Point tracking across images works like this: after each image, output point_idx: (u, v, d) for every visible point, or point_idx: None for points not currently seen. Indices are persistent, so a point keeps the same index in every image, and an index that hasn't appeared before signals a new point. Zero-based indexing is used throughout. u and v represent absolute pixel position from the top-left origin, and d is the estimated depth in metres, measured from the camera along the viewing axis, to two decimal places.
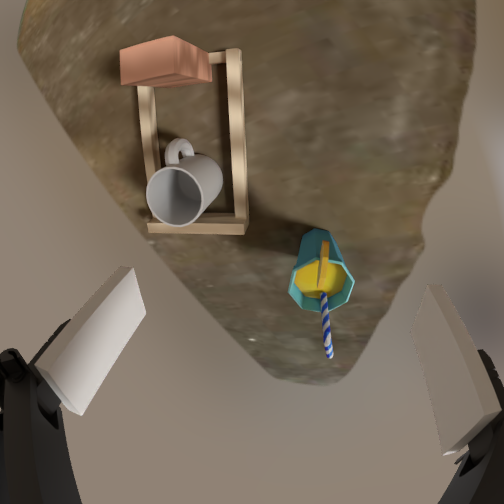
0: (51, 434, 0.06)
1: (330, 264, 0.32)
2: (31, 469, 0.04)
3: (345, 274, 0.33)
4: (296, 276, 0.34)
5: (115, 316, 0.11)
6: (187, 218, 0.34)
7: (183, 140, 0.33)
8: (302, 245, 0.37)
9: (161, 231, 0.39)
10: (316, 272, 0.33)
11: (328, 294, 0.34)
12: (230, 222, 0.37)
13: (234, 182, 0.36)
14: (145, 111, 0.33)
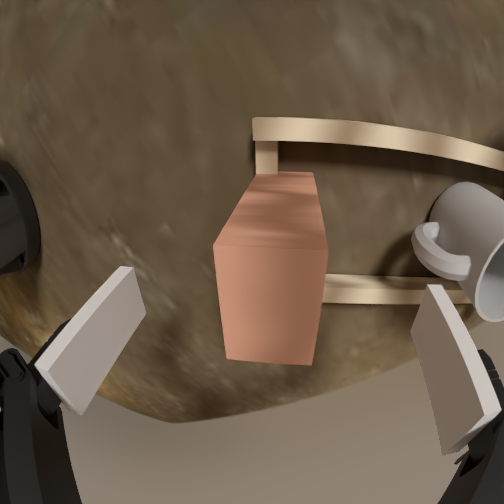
0: (51, 434, 0.06)
1: None
2: (31, 469, 0.04)
3: None
4: None
5: (115, 316, 0.11)
6: None
7: (420, 238, 0.17)
8: None
9: None
10: None
11: None
12: None
13: (486, 164, 0.15)
14: (341, 293, 0.22)
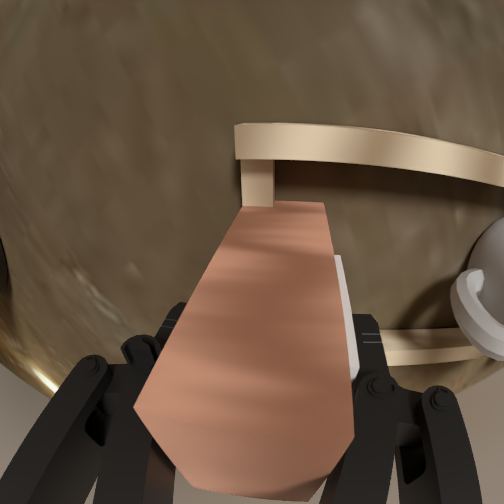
0: None
1: None
2: (137, 483, 0.04)
3: None
4: None
5: None
6: None
7: (465, 299, 0.11)
8: None
9: None
10: None
11: None
12: None
13: None
14: None
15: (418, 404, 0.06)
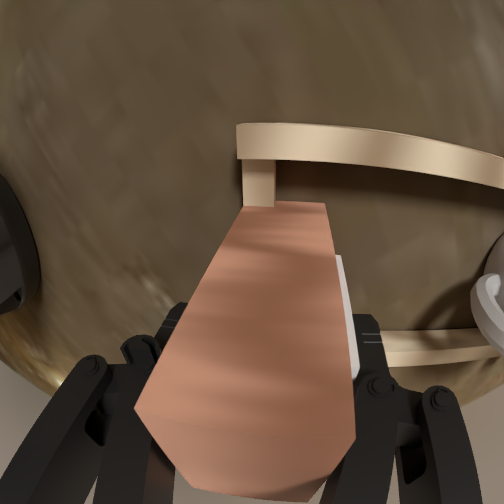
0: None
1: None
2: (136, 483, 0.04)
3: None
4: None
5: None
6: None
7: (485, 304, 0.11)
8: None
9: None
10: None
11: None
12: None
13: None
14: None
15: (418, 404, 0.06)
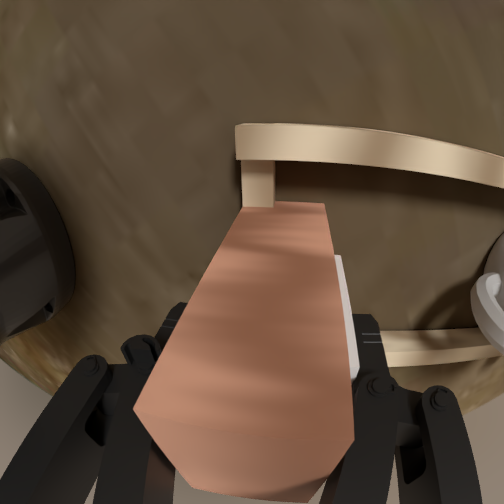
0: None
1: None
2: (137, 483, 0.04)
3: None
4: None
5: None
6: None
7: (486, 303, 0.11)
8: None
9: None
10: None
11: None
12: None
13: None
14: None
15: (418, 404, 0.06)
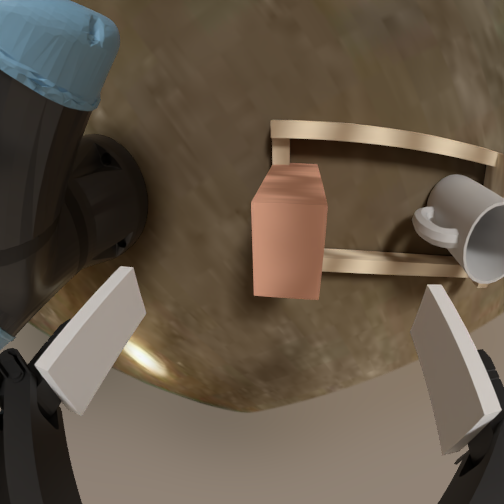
0: (51, 434, 0.06)
1: None
2: (31, 469, 0.04)
3: None
4: None
5: (115, 316, 0.11)
6: None
7: (419, 217, 0.21)
8: None
9: None
10: None
11: None
12: None
13: (460, 156, 0.20)
14: (341, 263, 0.27)
15: None
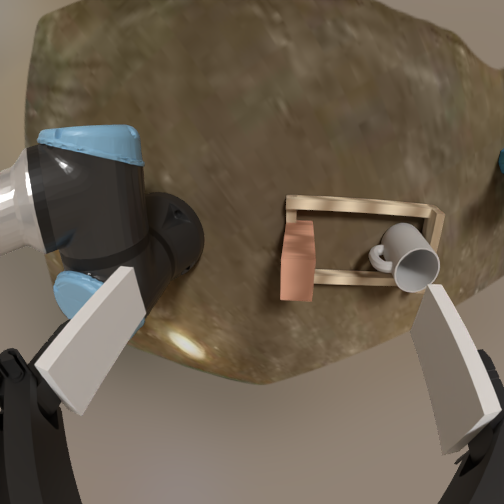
0: (51, 434, 0.06)
1: None
2: (31, 469, 0.04)
3: None
4: None
5: (115, 316, 0.11)
6: (433, 261, 0.35)
7: (371, 253, 0.40)
8: None
9: None
10: None
11: None
12: (433, 224, 0.36)
13: (402, 214, 0.38)
14: (327, 279, 0.45)
15: None
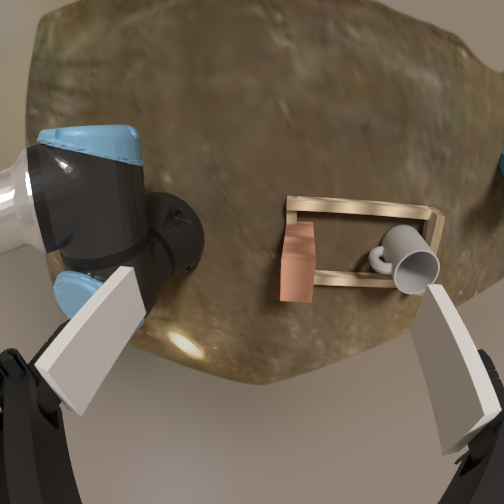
0: (51, 434, 0.06)
1: None
2: (31, 469, 0.04)
3: None
4: None
5: (115, 316, 0.11)
6: (433, 263, 0.36)
7: (371, 255, 0.40)
8: None
9: None
10: None
11: None
12: (434, 226, 0.36)
13: (402, 216, 0.38)
14: (326, 280, 0.45)
15: None
